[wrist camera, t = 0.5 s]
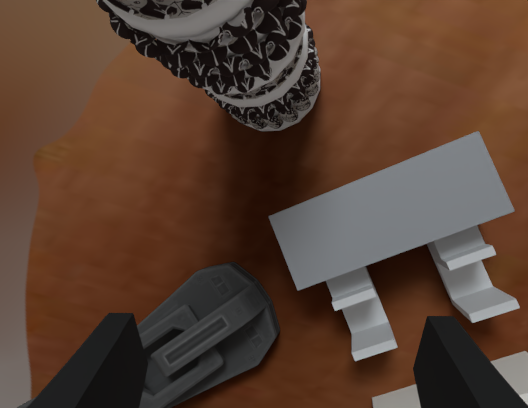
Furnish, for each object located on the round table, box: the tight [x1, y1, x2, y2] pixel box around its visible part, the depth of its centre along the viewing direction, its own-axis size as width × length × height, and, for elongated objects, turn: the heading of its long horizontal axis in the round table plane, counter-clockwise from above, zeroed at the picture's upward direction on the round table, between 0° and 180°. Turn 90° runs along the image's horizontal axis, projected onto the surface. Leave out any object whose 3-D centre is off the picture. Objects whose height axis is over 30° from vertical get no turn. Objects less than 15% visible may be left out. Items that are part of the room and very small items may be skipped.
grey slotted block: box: [268, 131, 520, 361], centre depth 30 cm, size 11×14×7 cm
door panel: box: [372, 351, 528, 408], centre depth 30 cm, size 12×2×6 cm, turn 112°
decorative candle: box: [96, 0, 321, 131], centre depth 24 cm, size 9×9×25 cm
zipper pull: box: [17, 262, 280, 408], centre depth 35 cm, size 9×7×25 cm
